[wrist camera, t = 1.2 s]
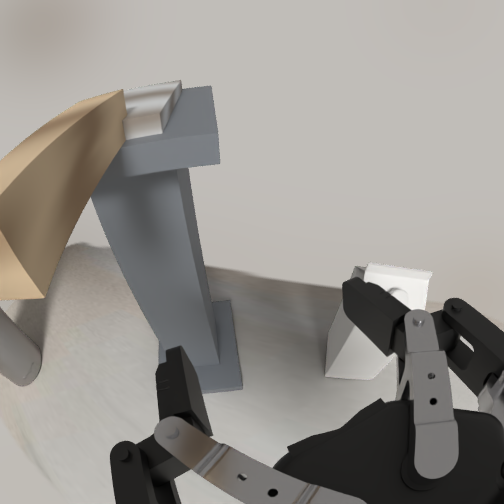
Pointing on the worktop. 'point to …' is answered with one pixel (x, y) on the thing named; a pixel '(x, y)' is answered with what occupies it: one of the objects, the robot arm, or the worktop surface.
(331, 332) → the milk carton
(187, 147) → the stand
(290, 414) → the worktop surface
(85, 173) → the trowel
